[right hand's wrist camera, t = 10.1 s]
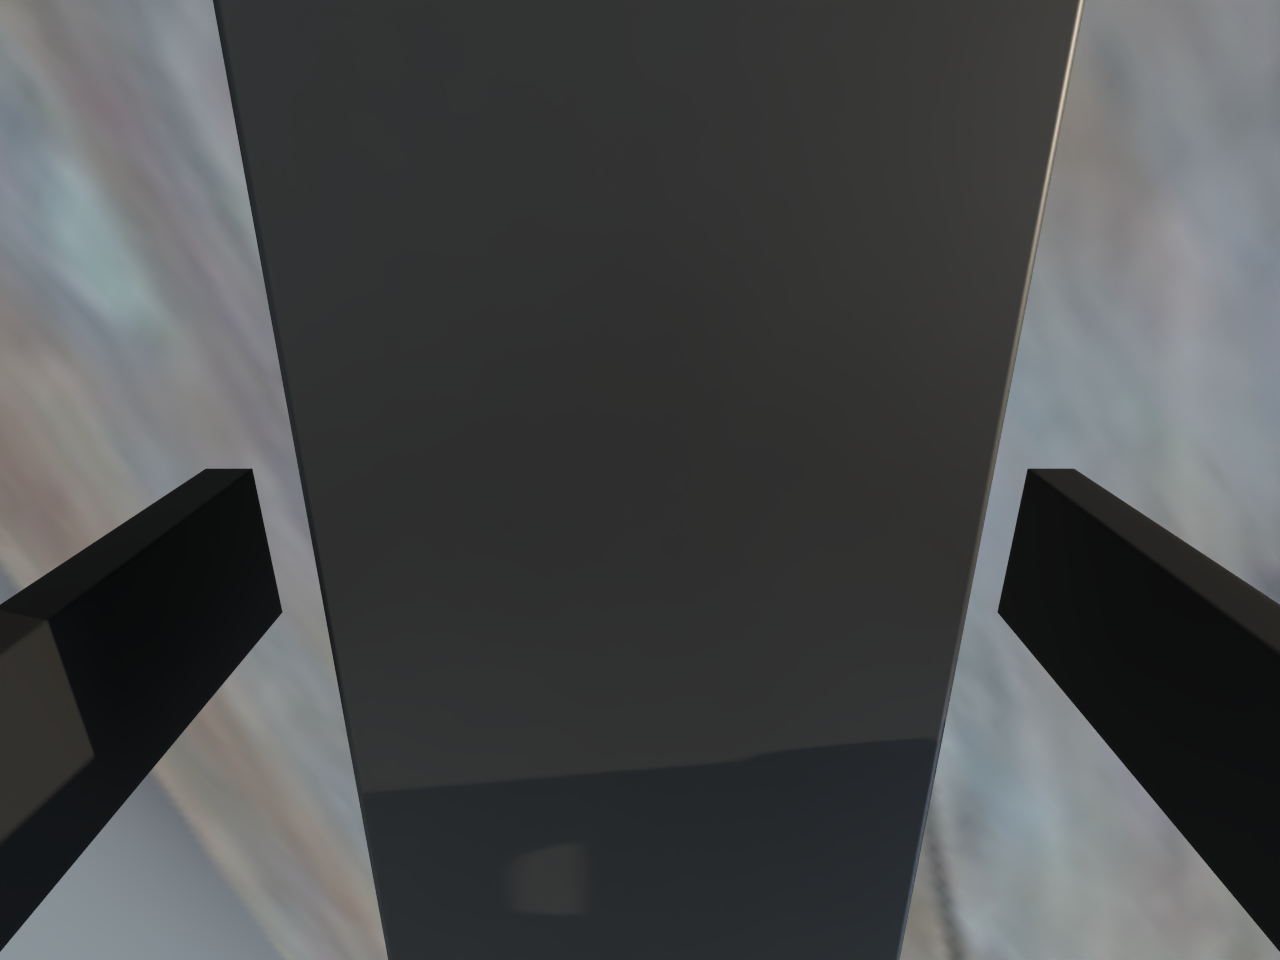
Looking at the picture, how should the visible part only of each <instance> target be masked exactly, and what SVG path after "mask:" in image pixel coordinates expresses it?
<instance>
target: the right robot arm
mask: <svg viewBox="0 0 1280 960" xmlns="http://www.w3.org/2000/svg"><path fill="white" fill-rule="evenodd" d="M281 613H282V608H281V604H280V599H279V594H278V589H277V585H276V580H275V575H274V570H273V565H272V561H271V556H270V551H269V546H268V542H267V537H266V532H265V527H264V523H263V518H262V513H261V508H260V504H259V499H258V494H257V489H256V485H255V480H254V475H253V470H252V469H205V470H203V471H202V472H200V473H199V474H197V475H196V476H194V477H193V478H191V479H190V480H188V481H187V482H185V483H184V484H182V485H181V486H179V487H178V488H176V489H175V490H173V491H172V492H170V493H169V494H167V495H165V496H164V497H162V498H161V499H159V500H158V501H156V502H155V503H153V504H152V505H150V506H149V507H147V508H146V509H144V510H143V511H141V512H140V513H138V514H137V515H135V516H134V517H132V518H131V519H129V520H128V521H126V522H125V523H123V524H122V525H120V526H119V527H117V528H116V529H114V530H113V531H111V532H109V533H108V534H106V535H105V536H103V537H102V538H100V539H99V540H97V541H96V542H94V543H93V544H91V545H90V546H88V547H87V548H85V549H84V550H82V551H81V552H79V553H78V554H76V555H75V556H73V557H72V558H70V559H69V560H67V561H66V562H64V563H63V564H61V565H60V566H58V567H57V568H55V569H53V570H52V571H50V572H49V573H47V574H46V575H44V576H43V577H41V578H40V579H38V580H37V581H35V582H34V583H32V584H31V585H29V586H28V587H26V588H25V589H23V590H22V591H20V592H19V593H17V594H16V595H14V596H13V597H11V598H10V599H8V600H7V601H5V602H4V603H2V604H1V605H0V951H1V950H2V949H3V948H4V946H5V945H6V944H7V943H8V942H9V940H10V939H11V938H12V937H13V936H14V934H15V933H16V932H17V931H18V930H19V928H20V927H21V926H22V925H23V924H24V922H25V921H26V920H27V919H28V918H29V916H30V915H31V914H32V913H33V912H34V910H35V909H36V908H37V907H38V906H39V904H40V903H41V902H42V901H43V900H44V898H45V897H46V896H47V895H48V894H49V892H50V891H51V890H52V889H53V887H54V886H55V885H56V884H57V883H58V881H59V880H60V879H61V878H62V877H63V875H64V874H65V873H66V872H67V871H68V869H69V868H70V867H71V866H72V865H73V863H74V862H75V861H76V860H77V859H78V857H79V856H80V855H81V854H82V853H83V851H84V850H85V849H86V848H87V847H88V845H89V844H90V843H91V842H92V841H93V839H94V838H95V837H96V836H97V835H98V833H99V832H100V831H101V830H102V829H103V827H104V826H105V825H106V824H107V823H108V821H109V820H110V819H111V818H112V816H113V815H114V814H115V813H116V812H117V811H118V809H119V808H120V807H121V806H122V805H123V803H124V802H125V801H126V800H127V798H128V797H129V796H130V795H131V794H132V792H133V791H134V790H135V789H136V788H137V786H138V785H139V784H140V783H141V782H142V780H143V779H144V778H145V777H146V776H147V774H148V773H149V772H150V771H151V770H152V768H153V767H154V766H155V765H156V764H157V762H158V761H159V760H160V759H161V758H162V756H163V755H164V754H165V753H166V752H167V750H168V749H169V748H170V747H171V746H172V744H173V743H174V742H175V741H176V740H177V738H178V737H179V736H180V735H181V734H182V732H183V731H184V730H185V729H186V728H187V726H188V725H189V724H190V723H191V722H192V720H193V719H194V718H195V717H196V715H197V714H198V713H199V712H200V711H201V709H202V708H203V707H204V706H205V705H206V703H207V702H208V701H209V700H210V699H211V697H212V696H213V695H214V694H215V693H216V691H217V690H218V689H219V688H220V687H221V685H222V684H223V683H224V682H225V681H226V679H227V678H228V677H229V676H230V675H231V673H232V672H233V671H234V670H235V669H236V667H237V666H238V665H239V664H240V663H241V661H242V660H243V659H244V658H245V657H246V655H247V654H248V653H249V652H250V651H251V649H252V648H253V647H254V646H255V645H256V643H257V642H258V641H259V640H260V639H261V637H262V636H263V635H264V634H265V632H266V631H267V630H268V629H269V628H270V626H271V625H272V624H273V623H274V622H275V620H276V619H277V618H278V617H279V616H280V614H281ZM998 613H999V614H1000V616H1001V617H1002V618H1003V619H1004V620H1005V622H1006V623H1007V624H1008V625H1009V626H1010V628H1011V629H1012V630H1013V631H1014V633H1015V634H1016V635H1017V636H1018V637H1019V639H1020V640H1021V641H1022V642H1023V643H1024V645H1025V646H1026V647H1027V648H1028V649H1029V651H1030V652H1031V653H1032V654H1033V655H1034V657H1035V658H1036V659H1037V660H1038V661H1039V663H1040V664H1041V665H1042V666H1043V667H1044V669H1045V670H1046V671H1047V672H1048V673H1049V675H1050V676H1051V677H1052V678H1053V679H1054V681H1055V682H1056V683H1057V684H1058V685H1059V687H1060V688H1061V689H1062V690H1063V691H1064V693H1065V694H1066V695H1067V696H1068V697H1069V699H1070V700H1071V701H1072V702H1073V703H1074V705H1075V706H1076V707H1077V708H1078V710H1079V711H1080V712H1081V713H1082V714H1083V716H1084V717H1085V718H1086V719H1087V720H1088V722H1089V723H1090V724H1091V725H1092V726H1093V728H1094V729H1095V730H1096V731H1097V732H1098V734H1099V735H1100V736H1101V737H1102V738H1103V740H1104V741H1105V742H1106V743H1107V744H1108V746H1109V747H1110V748H1111V749H1112V750H1113V752H1114V753H1115V754H1116V755H1117V756H1118V758H1119V759H1120V760H1121V761H1122V762H1123V764H1124V765H1125V766H1126V767H1127V768H1128V770H1129V771H1130V772H1131V773H1132V774H1133V776H1134V777H1135V778H1136V779H1137V780H1138V782H1139V783H1140V784H1141V785H1142V787H1143V788H1144V789H1145V790H1146V791H1147V793H1148V794H1149V795H1150V796H1151V797H1152V799H1153V800H1154V801H1155V802H1156V803H1157V805H1158V806H1159V807H1160V808H1161V809H1162V811H1163V812H1164V813H1165V814H1166V815H1167V817H1168V818H1169V819H1170V820H1171V821H1172V823H1173V824H1174V825H1175V826H1176V827H1177V829H1178V830H1179V831H1180V832H1181V833H1182V835H1183V836H1184V837H1185V838H1186V839H1187V841H1188V842H1189V843H1190V844H1191V845H1192V847H1193V848H1194V849H1195V850H1196V851H1197V853H1198V854H1199V855H1200V856H1201V857H1202V859H1203V860H1204V861H1205V862H1206V864H1207V865H1208V866H1209V867H1210V868H1211V870H1212V871H1213V872H1214V873H1215V874H1216V876H1217V877H1218V878H1219V879H1220V880H1221V882H1222V883H1223V884H1224V885H1225V886H1226V888H1227V889H1228V890H1229V891H1230V892H1231V894H1232V895H1233V896H1234V897H1235V898H1236V900H1237V901H1238V902H1239V903H1240V904H1241V906H1242V907H1243V908H1244V909H1245V910H1246V912H1247V913H1248V914H1249V915H1250V916H1251V918H1252V919H1253V920H1254V921H1255V922H1256V924H1257V925H1258V926H1259V927H1260V928H1261V930H1262V931H1263V932H1264V933H1265V934H1266V936H1267V937H1268V938H1269V939H1270V941H1271V942H1272V943H1273V944H1274V945H1275V947H1276V948H1277V949H1278V950H1279V951H1280V605H1279V604H1278V603H1276V602H1275V601H1273V600H1272V599H1270V598H1269V597H1267V596H1266V595H1264V594H1263V593H1261V592H1260V591H1258V590H1257V589H1255V588H1254V587H1252V586H1251V585H1249V584H1248V583H1246V582H1245V581H1243V580H1242V579H1240V578H1239V577H1237V576H1236V575H1234V574H1233V573H1231V572H1230V571H1228V570H1226V569H1225V568H1223V567H1222V566H1220V565H1219V564H1217V563H1216V562H1214V561H1213V560H1211V559H1210V558H1208V557H1207V556H1205V555H1204V554H1202V553H1201V552H1199V551H1198V550H1196V549H1195V548H1193V547H1192V546H1190V545H1189V544H1187V543H1186V542H1184V541H1183V540H1181V539H1180V538H1178V537H1177V536H1175V535H1174V534H1172V533H1170V532H1169V531H1167V530H1166V529H1164V528H1163V527H1161V526H1160V525H1158V524H1157V523H1155V522H1154V521H1152V520H1151V519H1149V518H1148V517H1146V516H1145V515H1143V514H1142V513H1140V512H1139V511H1137V510H1136V509H1134V508H1133V507H1131V506H1130V505H1128V504H1127V503H1125V502H1124V501H1122V500H1121V499H1119V498H1118V497H1116V496H1114V495H1113V494H1111V493H1110V492H1108V491H1107V490H1105V489H1104V488H1102V487H1101V486H1099V485H1098V484H1096V483H1095V482H1093V481H1092V480H1090V479H1089V478H1087V477H1086V476H1084V475H1083V474H1081V473H1080V472H1078V471H1077V470H1075V469H1028V470H1027V475H1026V480H1025V484H1024V489H1023V494H1022V499H1021V504H1020V508H1019V513H1018V518H1017V523H1016V527H1015V532H1014V537H1013V542H1012V546H1011V551H1010V556H1009V561H1008V565H1007V570H1006V575H1005V580H1004V584H1003V589H1002V594H1001V599H1000V603H999V608H998Z"/></svg>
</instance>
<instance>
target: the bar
mask: <svg viewBox="0 0 1280 960" xmlns="http://www.w3.org/2000/svg"><path fill="white" fill-rule="evenodd" d="M213 3H214V9H215V14H216V20H217V25H218V31H219V36H220V41H221V47H222V52H223V58H224V63H225V69H226V74H227V80H228V85H229V91H230V96H231V102H232V107H233V113H234V118H235V124H236V129H237V134H238V140H239V145H240V151H241V156H242V162H243V167H244V173H245V178H246V184H247V189H248V195H249V200H250V206H251V211H252V217H253V222H254V227H255V233H256V238H257V244H258V249H259V255H260V260H261V266H262V271H263V277H264V282H265V288H266V293H267V299H268V304H269V310H270V315H271V320H272V326H273V331H274V337H275V342H276V348H277V353H278V359H279V364H280V370H281V375H282V381H283V386H284V392H285V397H286V403H287V408H288V413H289V419H290V424H291V430H292V435H293V441H294V446H295V452H296V457H297V463H298V468H299V474H300V479H301V485H302V490H303V496H304V501H305V506H306V512H307V517H308V523H309V528H310V534H311V539H312V545H313V550H314V556H315V561H316V567H317V572H318V578H319V583H320V589H321V594H322V599H323V605H324V610H325V616H326V621H327V627H328V632H329V638H330V643H331V649H332V654H333V660H334V665H335V671H336V676H337V681H338V687H339V692H340V698H341V703H342V709H343V714H344V720H345V725H346V731H347V736H348V742H349V747H350V753H351V758H352V764H353V769H354V774H355V780H356V785H357V791H358V796H359V802H360V807H361V813H362V818H363V824H364V829H365V835H366V840H367V846H368V851H369V857H370V862H371V867H372V873H373V878H374V884H375V889H376V895H377V900H378V906H379V911H380V917H381V922H382V928H383V933H384V939H385V944H386V950H387V955H388V960H899V959H900V954H901V949H902V943H903V938H904V933H905V928H906V923H907V918H908V912H909V907H910V902H911V897H912V892H913V887H914V882H915V876H916V871H917V866H918V861H919V856H920V851H921V845H922V840H923V835H924V830H925V825H926V820H927V814H928V809H929V804H930V799H931V794H932V789H933V783H934V778H935V773H936V768H937V763H938V758H939V752H940V747H941V742H942V737H943V732H944V727H945V721H946V716H947V711H948V706H949V701H950V696H951V691H952V685H953V680H954V675H955V670H956V665H957V660H958V654H959V649H960V644H961V639H962V634H963V629H964V623H965V618H966V613H967V608H968V603H969V598H970V592H971V587H972V582H973V577H974V572H975V567H976V561H977V556H978V551H979V546H980V541H981V536H982V530H983V525H984V520H985V515H986V510H987V505H988V500H989V494H990V489H991V484H992V479H993V474H994V469H995V463H996V458H997V453H998V448H999V443H1000V438H1001V432H1002V427H1003V422H1004V417H1005V412H1006V407H1007V401H1008V396H1009V391H1010V386H1011V381H1012V376H1013V370H1014V365H1015V360H1016V355H1017V350H1018V345H1019V339H1020V334H1021V329H1022V324H1023V319H1024V314H1025V309H1026V303H1027V298H1028V293H1029V288H1030V283H1031V278H1032V272H1033V267H1034V262H1035V257H1036V252H1037V247H1038V241H1039V236H1040V231H1041V226H1042V221H1043V216H1044V210H1045V205H1046V200H1047V195H1048V190H1049V185H1050V179H1051V174H1052V169H1053V164H1054V159H1055V154H1056V148H1057V143H1058V138H1059V133H1060V128H1061V123H1062V117H1063V112H1064V107H1065V102H1066V97H1067V92H1068V87H1069V81H1070V76H1071V71H1072V66H1073V61H1074V56H1075V50H1076V45H1077V40H1078V35H1079V30H1080V25H1081V19H1082V14H1083V9H1084V4H1085V0H213Z"/></svg>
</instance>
